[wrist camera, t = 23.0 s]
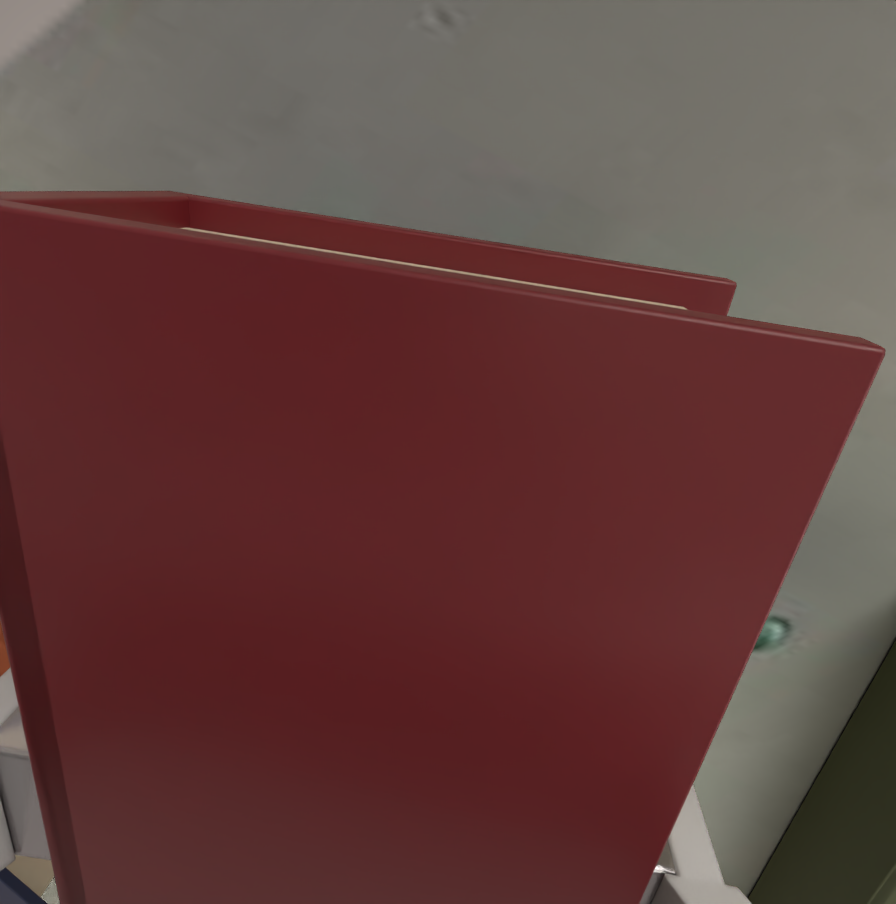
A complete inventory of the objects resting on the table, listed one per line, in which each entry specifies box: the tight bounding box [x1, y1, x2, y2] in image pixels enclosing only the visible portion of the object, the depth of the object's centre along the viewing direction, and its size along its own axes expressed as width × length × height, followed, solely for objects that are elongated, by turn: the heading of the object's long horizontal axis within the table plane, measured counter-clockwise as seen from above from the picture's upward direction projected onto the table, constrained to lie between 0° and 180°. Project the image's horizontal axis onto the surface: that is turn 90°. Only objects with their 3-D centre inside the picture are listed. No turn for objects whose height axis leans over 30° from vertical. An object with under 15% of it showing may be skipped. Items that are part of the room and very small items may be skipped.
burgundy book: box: [0, 191, 885, 904], centre depth 8 cm, size 13×6×3 cm, turn 172°
